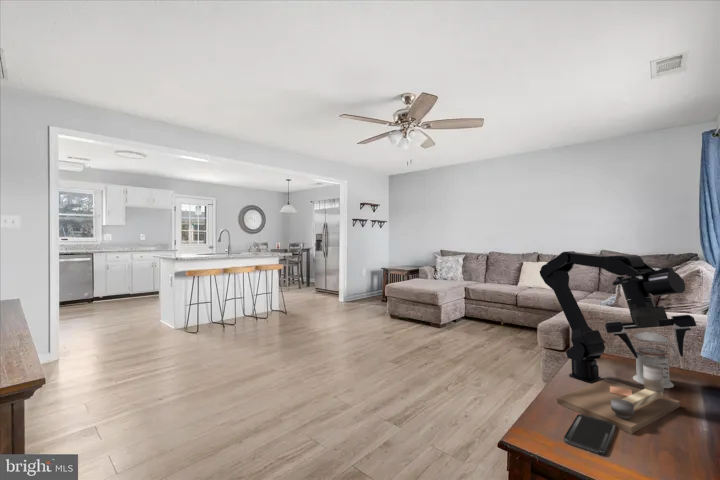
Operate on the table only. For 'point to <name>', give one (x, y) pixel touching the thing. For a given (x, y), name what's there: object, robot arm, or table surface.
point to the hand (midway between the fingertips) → (658, 357)
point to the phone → (590, 434)
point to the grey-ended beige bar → (642, 391)
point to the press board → (598, 405)
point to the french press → (656, 353)
